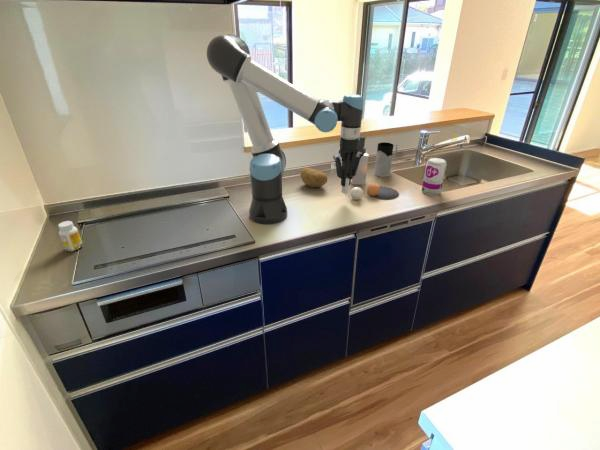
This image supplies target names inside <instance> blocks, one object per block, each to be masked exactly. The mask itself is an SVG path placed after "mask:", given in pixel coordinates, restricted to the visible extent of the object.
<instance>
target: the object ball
mask: <svg viewBox="0 0 600 450" xmlns="http://www.w3.org/2000/svg"><path fill="white" fill-rule="evenodd" d="M366 192H368V193H367V195H368V194H369V195H368V196H370V195H371V196H376V195H377V194H378V193H379V192H380V187H379V184H377V183H370V184H368V186H367V189H366ZM371 196H370V197H371Z"/></svg>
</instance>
